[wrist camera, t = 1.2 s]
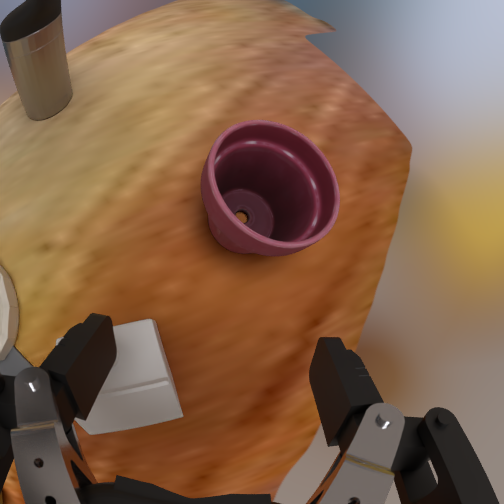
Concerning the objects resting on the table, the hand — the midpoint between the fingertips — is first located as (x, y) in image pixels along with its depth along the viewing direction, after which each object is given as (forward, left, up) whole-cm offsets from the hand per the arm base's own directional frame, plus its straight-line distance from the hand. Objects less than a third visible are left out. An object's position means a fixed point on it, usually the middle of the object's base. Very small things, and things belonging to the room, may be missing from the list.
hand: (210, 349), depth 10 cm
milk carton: (-2, -5, -23) cm, 24 cm away
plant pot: (-1, +17, -23) cm, 29 cm away
